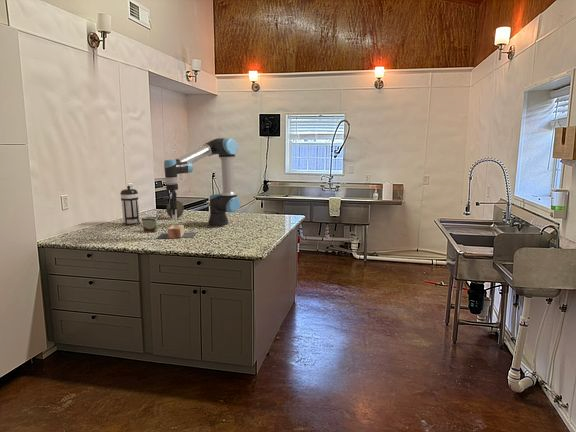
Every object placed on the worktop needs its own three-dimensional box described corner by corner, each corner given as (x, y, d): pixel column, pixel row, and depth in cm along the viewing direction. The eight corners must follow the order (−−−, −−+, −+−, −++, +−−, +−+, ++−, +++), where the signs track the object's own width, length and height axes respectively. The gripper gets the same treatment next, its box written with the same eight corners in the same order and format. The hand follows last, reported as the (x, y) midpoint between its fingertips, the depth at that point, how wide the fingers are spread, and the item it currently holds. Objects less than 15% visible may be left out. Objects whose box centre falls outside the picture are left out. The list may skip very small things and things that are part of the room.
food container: (162, 230, 289) (161, 217, 288) (156, 232, 284) (155, 218, 282) (147, 229, 293) (146, 216, 292) (142, 231, 288) (141, 217, 286)
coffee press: (116, 225, 310) (112, 186, 304) (131, 221, 324) (128, 184, 319) (133, 227, 303) (130, 187, 298) (148, 223, 318) (145, 185, 312)
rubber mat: (196, 232, 281) (196, 232, 281) (193, 237, 267) (193, 236, 267) (161, 233, 279) (161, 233, 279) (156, 238, 266) (156, 237, 265)
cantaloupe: (164, 218, 337) (163, 200, 334) (180, 216, 345) (179, 199, 342) (170, 220, 325) (169, 202, 323) (187, 218, 334) (186, 200, 331)
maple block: (180, 237, 265) (184, 233, 277) (180, 228, 264) (183, 225, 276) (168, 238, 265) (172, 233, 277) (167, 229, 264) (171, 225, 275)
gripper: (168, 182, 267) (171, 217, 271) (163, 185, 254) (166, 221, 259) (179, 182, 267) (182, 217, 272) (175, 184, 255) (178, 221, 259)
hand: (174, 219), depth 265 cm, fingers closed
